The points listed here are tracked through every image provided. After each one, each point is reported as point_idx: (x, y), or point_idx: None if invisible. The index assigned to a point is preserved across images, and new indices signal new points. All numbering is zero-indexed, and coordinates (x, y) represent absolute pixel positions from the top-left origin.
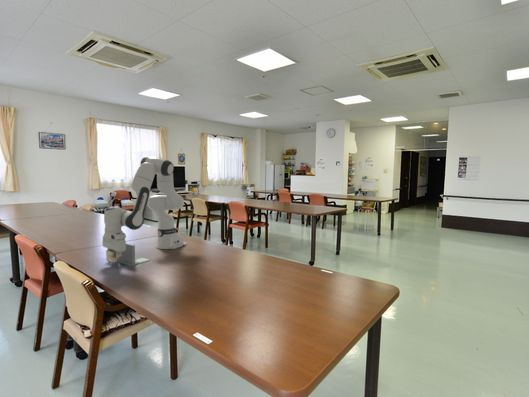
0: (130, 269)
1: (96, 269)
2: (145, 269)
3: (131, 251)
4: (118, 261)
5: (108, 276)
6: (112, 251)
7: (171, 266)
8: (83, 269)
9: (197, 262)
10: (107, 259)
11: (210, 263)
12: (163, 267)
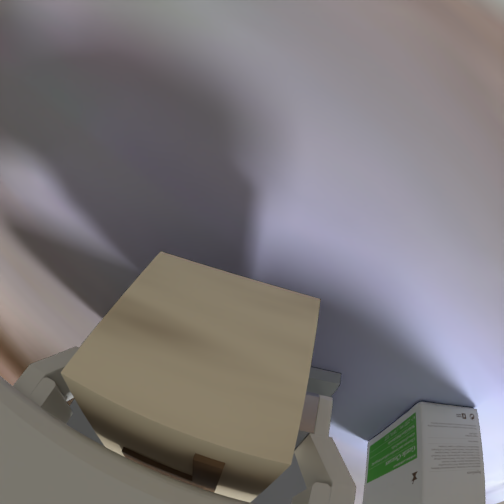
0: (48, 243)
1: (321, 80)
2: (13, 273)
3: (74, 425)
4: (311, 369)
5: (21, 45)
6: (111, 417)
7: (11, 332)
8: (485, 30)
9: (20, 373)
10: (284, 303)
11: (2, 364)
12: (10, 316)
